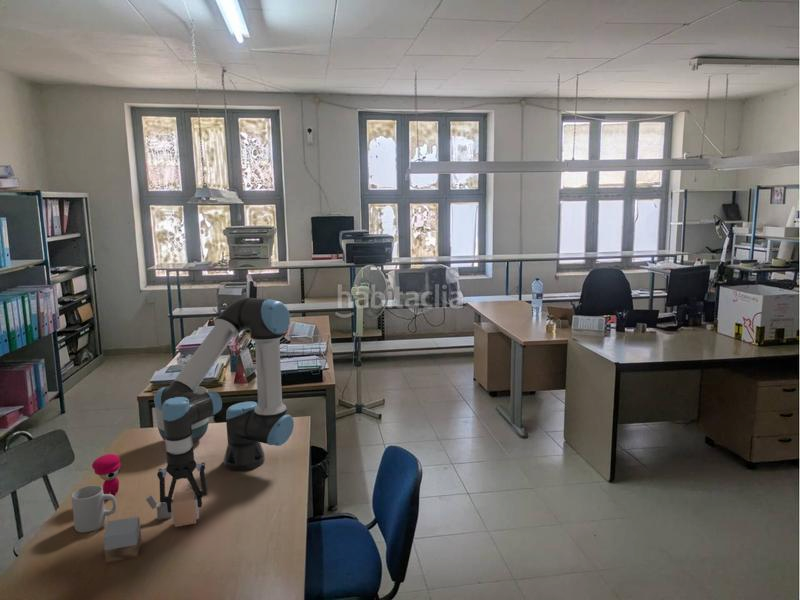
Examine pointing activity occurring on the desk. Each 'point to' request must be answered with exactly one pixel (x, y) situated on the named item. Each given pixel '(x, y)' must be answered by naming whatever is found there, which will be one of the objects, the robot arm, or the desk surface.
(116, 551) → the tower base
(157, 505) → the lighter
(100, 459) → the toy
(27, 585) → the desk surface
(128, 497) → the desk surface
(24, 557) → the desk surface
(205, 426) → the planter
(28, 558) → the desk surface
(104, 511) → the mug
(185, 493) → the clay block
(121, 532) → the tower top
